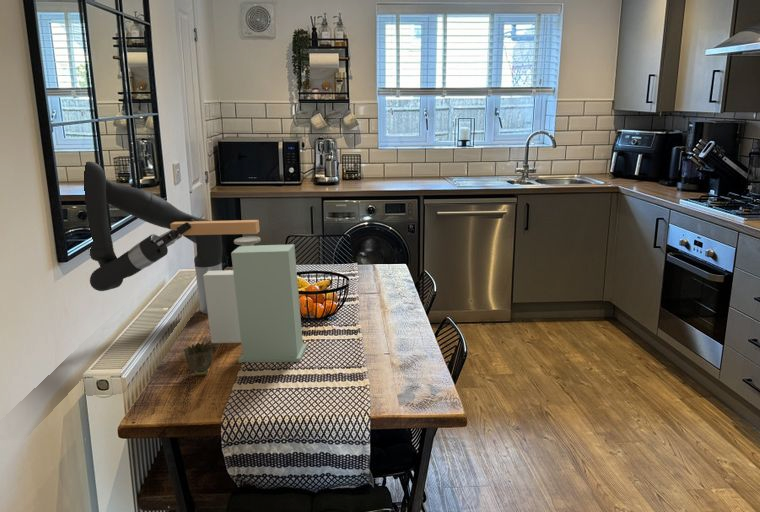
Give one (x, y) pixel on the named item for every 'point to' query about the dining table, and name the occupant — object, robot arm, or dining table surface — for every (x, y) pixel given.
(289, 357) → the stand
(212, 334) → the post
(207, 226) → the bar
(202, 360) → the cup
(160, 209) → the robot arm
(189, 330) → the dining table surface
